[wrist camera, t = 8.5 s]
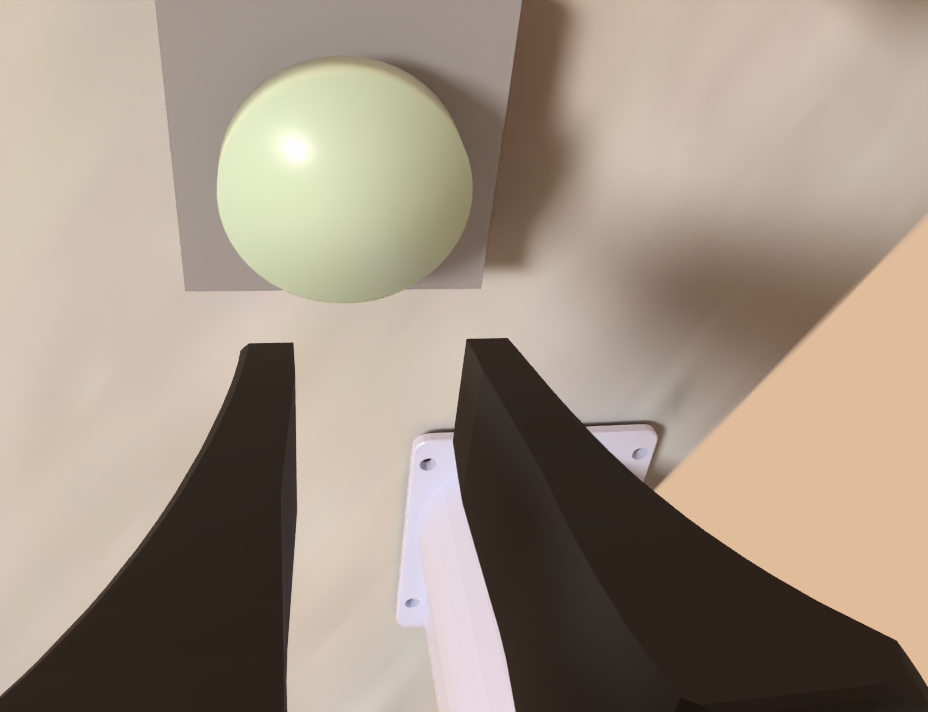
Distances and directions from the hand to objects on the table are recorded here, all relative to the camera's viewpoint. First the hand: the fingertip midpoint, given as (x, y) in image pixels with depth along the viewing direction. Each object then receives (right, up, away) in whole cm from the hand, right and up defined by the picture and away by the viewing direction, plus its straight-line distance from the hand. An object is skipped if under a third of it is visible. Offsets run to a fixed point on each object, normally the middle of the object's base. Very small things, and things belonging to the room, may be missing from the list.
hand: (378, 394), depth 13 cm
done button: (-2, +5, +7) cm, 9 cm away
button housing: (-2, +6, +8) cm, 10 cm away
